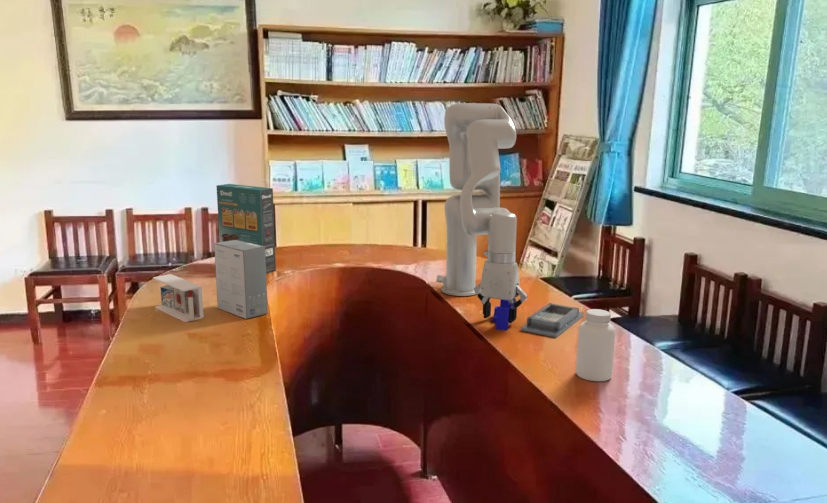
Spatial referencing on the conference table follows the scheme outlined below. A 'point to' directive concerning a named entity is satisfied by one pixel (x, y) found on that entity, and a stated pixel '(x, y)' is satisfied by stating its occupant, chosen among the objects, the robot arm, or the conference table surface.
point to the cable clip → (501, 315)
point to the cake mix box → (247, 217)
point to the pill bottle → (595, 346)
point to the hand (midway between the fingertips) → (499, 318)
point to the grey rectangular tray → (552, 320)
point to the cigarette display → (181, 298)
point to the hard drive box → (241, 278)
